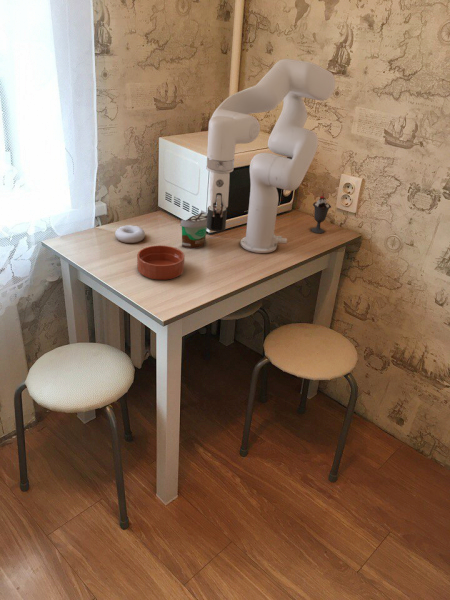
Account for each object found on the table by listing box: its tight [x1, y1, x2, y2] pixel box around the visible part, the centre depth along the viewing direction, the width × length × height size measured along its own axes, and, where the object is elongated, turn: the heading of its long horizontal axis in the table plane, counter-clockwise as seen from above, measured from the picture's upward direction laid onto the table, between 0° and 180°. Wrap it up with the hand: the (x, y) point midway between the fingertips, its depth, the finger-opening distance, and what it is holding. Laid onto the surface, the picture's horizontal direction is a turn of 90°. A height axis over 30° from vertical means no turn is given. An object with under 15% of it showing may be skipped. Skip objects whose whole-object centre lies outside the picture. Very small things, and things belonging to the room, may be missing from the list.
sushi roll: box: [206, 205, 228, 232], centre depth 150 cm, size 6×6×6 cm
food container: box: [180, 210, 208, 249], centre depth 172 cm, size 12×6×10 cm, turn 148°
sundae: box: [310, 190, 332, 234], centre depth 190 cm, size 7×7×15 cm
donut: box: [114, 224, 146, 244], centre depth 174 cm, size 10×4×10 cm
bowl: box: [136, 244, 185, 281], centre depth 155 cm, size 14×14×5 cm
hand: (216, 224), depth 151 cm, fingers closed on sushi roll, 5 cm apart
